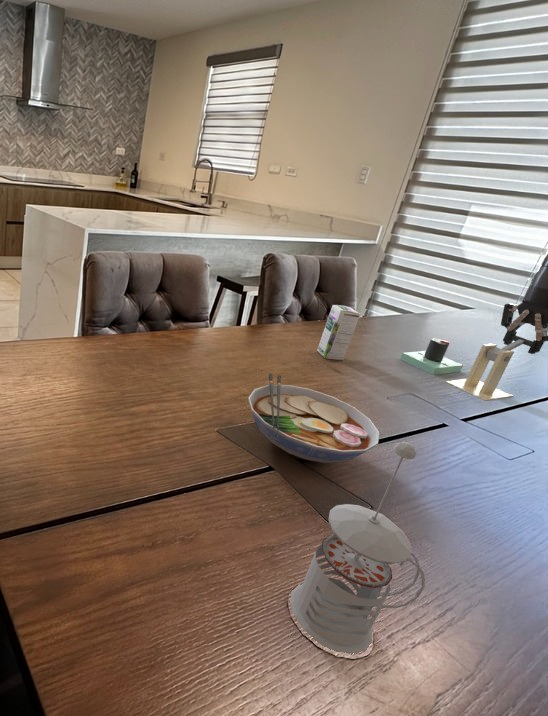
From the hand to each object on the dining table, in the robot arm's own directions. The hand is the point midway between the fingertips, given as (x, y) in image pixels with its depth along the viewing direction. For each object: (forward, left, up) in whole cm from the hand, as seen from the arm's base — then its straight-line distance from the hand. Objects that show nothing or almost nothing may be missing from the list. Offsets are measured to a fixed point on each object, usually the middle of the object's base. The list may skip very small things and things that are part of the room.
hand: (518, 348), depth 123 cm
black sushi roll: (+9, -14, -9) cm, 19 cm away
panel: (+9, -14, -12) cm, 20 cm away
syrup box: (+35, -26, -12) cm, 45 cm away
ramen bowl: (+80, +9, -12) cm, 81 cm away
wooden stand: (+10, 0, -12) cm, 15 cm away
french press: (+103, +39, -12) cm, 110 cm away
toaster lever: (+5, 0, -1) cm, 5 cm away
